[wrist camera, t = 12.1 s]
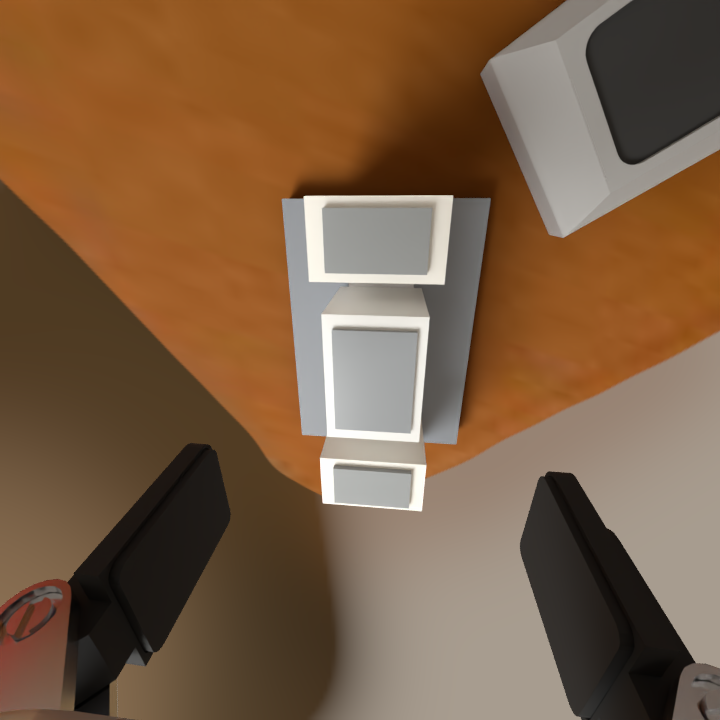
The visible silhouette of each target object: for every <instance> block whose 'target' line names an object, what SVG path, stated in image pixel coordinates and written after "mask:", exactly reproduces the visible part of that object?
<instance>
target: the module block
mask: <svg viewBox="0 0 720 720" xmlns="http://www.w3.org/2000/svg"><path fill="white" fill-rule="evenodd" d="M321 319H322V339H323V359H324V379H325V399H326V419H327V437H340V438H356V439H372V440H388V441H404V442H419V436H420V425H421V413H422V401H423V389H424V378H425V366H426V354H427V343H428V331H429V319H430V317H429V313H428V309H427V306H426V302H425V299H424V295H423V292H422V288H391V287H343V286H341V287H340V288H339V290H338V291H337V293H336V294H335V295H334V297H333V298H332V300H331V301H330V302H329V304H328V305H327V307H326V308H325V310H324V311H323V312H322V314H321Z"/></svg>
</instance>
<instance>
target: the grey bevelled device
mask: <svg viewBox="0 0 720 720" xmlns="http://www.w3.org/2000/svg"><path fill="white" fill-rule="evenodd" d="M480 75H481V77H482V80H483V82H484V84H485V87H486V89H487V91H488V94H489V96H490V98H491V101H492V103H493V105H494V108H495V110H496V112H497V115H498V117H499V119H500V122H501V124H502V126H503V129H504V131H505V133H506V136H507V138H508V140H509V143H510V145H511V147H512V150H513V152H514V154H515V156H516V159H517V161H518V163H519V166H520V168H521V170H522V173H523V175H524V177H525V180H526V182H527V184H528V187H529V189H530V191H531V194H532V196H533V198H534V201H535V203H536V205H537V208H538V210H539V212H540V215H541V217H542V219H543V222H544V224H545V226H546V229H547V231H548V233H549V235H553V236H557V237H562V238H564V237H565V236H567V235H569V234H571V233H573V232H574V231H576V230H578V229H580V228H581V227H583V226H585V225H587V224H588V223H590V222H592V221H594V220H596V219H597V218H599V217H601V216H603V215H604V214H606V213H608V212H610V211H611V210H613V209H615V208H617V207H619V206H620V205H622V204H624V203H626V202H627V201H629V200H631V199H633V198H634V197H636V196H638V195H640V194H642V193H643V192H645V191H647V190H649V189H650V188H652V187H654V186H656V185H657V184H659V183H661V182H663V181H664V180H666V179H668V178H670V177H672V176H673V175H675V174H677V173H679V172H680V171H682V170H684V169H686V168H687V167H689V166H691V165H693V164H695V163H696V162H698V161H700V160H702V159H703V158H705V157H707V156H709V155H710V154H712V153H714V152H716V151H718V150H719V149H720V0H566V1H565V2H564V3H563V4H561V5H560V6H559V7H557V8H556V9H555V10H553V11H552V12H551V13H550V14H548V15H547V16H546V17H544V18H543V19H542V20H541V21H539V22H538V23H537V24H535V25H534V26H533V27H531V28H530V29H529V30H528V31H526V32H525V33H524V34H522V35H521V36H520V37H518V38H517V39H516V40H515V41H513V42H512V43H511V44H509V45H508V46H507V47H506V48H504V49H503V50H502V51H500V52H499V53H498V54H496V55H495V56H494V57H493V58H491V59H490V60H489V61H488V63H487V64H486V66H485V68H484V69H483V71H482V72H481V74H480Z"/></svg>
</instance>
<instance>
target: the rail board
mask: <svg viewBox="0 0 720 720" xmlns="http://www.w3.org/2000/svg"><path fill="white" fill-rule="evenodd" d="M490 201H491V198H453V195H399V196H304V199H282V206H283V218H284V229H285V241H286V253H287V264H288V276H289V287H290V299H291V310H292V322H293V334H294V345H295V357H296V368H297V380H298V392H299V403H300V415H301V426H302V435H314V436H327V419H326V399H325V379H324V359H323V339H322V319H321V314H322V312H323V311H324V310H325V308H326V307H327V305H328V304H329V302H330V301H331V300H332V298H333V297H334V295H335V294H336V293H337V291H338V290H339V288H340V287H341V286H343V287H391V288H422V292H423V295H424V299H425V302H426V306H427V309H428V313H429V317H430V319H429V331H428V343H427V354H426V366H425V378H424V389H423V401H422V413H421V425H420V436H419V442H404V441H388V440H372V439H356V438H340V437H326V440H325V443H324V446H323V450H322V453H321V456H320V466H321V482H322V498H323V503H327V504H340V505H352V506H364V507H377V508H391V509H402V510H414V511H422V504H423V494H424V483H425V474H426V457H425V448H424V442H427V443H443V444H456V442H457V435H458V427H459V420H460V413H461V406H462V399H463V392H464V385H465V378H466V371H467V364H468V357H469V350H470V342H471V335H472V328H473V321H474V314H475V307H476V300H477V293H478V286H479V279H480V272H481V265H482V257H483V250H484V243H485V236H486V229H487V222H488V215H489V208H490Z"/></svg>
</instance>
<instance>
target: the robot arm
mask: <svg viewBox="0 0 720 720" xmlns="http://www.w3.org/2000/svg"><path fill="white" fill-rule="evenodd" d="M229 521H230V508H229V505H228V500H227V496H226V491H225V487H224V483H223V478H222V474H221V470H220V466H219V461H218V457H217V453H216V451H215V450H212V448H211V446H210V445H206V444H195V443H190V444H188V445H186V446H185V447H184V448H183V450H182V451H181V452H180V453H179V454H178V455H177V456H176V458H175V459H174V460H173V461H172V462H171V463H170V465H169V466H168V467H167V468H166V469H165V470H164V471H163V472H162V474H161V475H160V476H159V477H158V478H157V479H156V480H155V481H154V483H153V484H152V485H151V486H150V487H149V488H148V489H147V491H146V492H145V493H144V494H143V495H142V496H141V497H140V498H139V500H138V501H137V502H136V503H135V504H134V505H133V507H132V508H131V509H130V510H129V511H128V512H127V513H126V514H125V516H124V517H123V518H122V519H121V520H120V521H119V522H118V524H117V525H116V526H115V527H114V528H113V529H112V530H111V531H110V533H109V534H108V535H107V536H106V537H105V538H104V540H103V541H102V542H101V543H100V544H99V545H98V546H97V547H96V548H95V550H94V551H93V552H92V553H91V554H90V555H89V556H88V558H87V559H86V560H85V561H84V562H83V563H82V564H81V566H80V567H79V568H78V569H77V570H76V571H75V572H74V575H73V577H72V578H71V579H70V580H69V581H68V582H66V581H63V580H59V579H53V580H46V581H43V582H40V583H37V584H34V585H32V586H30V587H28V588H26V589H25V590H22V591H20V592H19V593H18V594H16V595H15V596H14V597H12V598H11V599H9V600H8V601H7V602H6V603H5V604H4V605H2V606H1V607H0V720H132V719H126V718H118V712H117V711H118V708H117V707H118V706H117V704H118V703H117V677H118V675H119V674H120V672H121V670H122V669H123V667H124V665H125V664H126V663H127V664H134V665H141V666H146V665H147V663H148V661H149V660H150V658H151V656H152V654H153V652H157V651H159V650H160V648H161V647H162V646H163V644H164V643H165V641H166V639H167V637H168V635H169V633H170V631H171V630H172V628H173V626H174V624H175V622H176V620H177V618H178V617H179V615H180V613H181V611H182V609H183V607H184V605H185V604H186V602H187V600H188V598H189V596H190V594H191V593H192V591H193V589H194V587H195V585H196V583H197V581H198V580H199V578H200V576H201V574H202V572H203V570H204V568H205V566H206V565H207V563H208V561H209V559H210V557H211V555H212V554H213V552H214V550H215V548H216V546H217V544H218V542H219V541H220V539H221V537H222V535H223V533H224V531H225V529H226V528H227V526H228V523H229ZM520 551H521V556H522V559H523V562H524V566H525V568H526V572H527V574H528V578H529V581H530V584H531V587H532V590H533V593H534V597H535V599H536V603H537V606H538V609H539V612H540V615H541V618H542V621H543V624H544V627H545V631H546V634H547V637H548V640H549V643H550V646H551V649H552V652H553V655H554V659H555V661H556V665H557V668H558V671H559V674H560V677H561V680H562V683H563V686H564V689H565V693H566V696H567V699H568V702H569V705H570V707H571V709H572V711H573V713H574V714H575V715H576V716H579V717H581V719H582V720H720V668H717V667H714V666H711V665H708V664H700V663H699V664H698V663H695V661H694V660H693V658H692V656H691V655H690V653H689V651H688V650H687V648H686V647H685V645H684V644H683V642H682V640H681V639H680V637H679V635H678V634H677V632H676V631H675V629H674V627H673V626H672V624H671V623H670V621H669V619H668V618H667V616H666V614H665V613H664V611H663V610H662V608H661V606H660V605H659V603H658V602H657V600H656V599H655V597H654V595H653V594H652V592H651V590H650V589H649V587H648V586H647V584H646V582H645V581H644V579H643V577H642V576H641V574H640V573H639V571H638V570H637V568H636V566H635V565H634V563H633V562H632V560H631V558H630V557H629V555H628V553H627V552H626V550H625V549H624V547H623V545H622V544H621V542H620V541H619V539H618V538H617V536H616V535H615V534H614V533H613V532H612V531H611V530H609V529H607V528H606V527H605V525H604V523H603V522H602V520H601V518H600V517H599V515H598V513H597V512H596V510H595V508H594V507H593V505H592V504H591V502H590V500H589V499H588V497H587V495H586V494H585V492H584V490H583V489H582V487H581V486H580V484H579V482H578V480H577V479H576V477H575V476H574V475H573V474H571V473H561V472H547V473H546V475H545V477H543V476H541V477H540V478H539V480H538V483H537V487H536V490H535V494H534V497H533V500H532V504H531V507H530V511H529V514H528V517H527V521H526V524H525V528H524V531H523V535H522V538H521V542H520Z"/></svg>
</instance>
